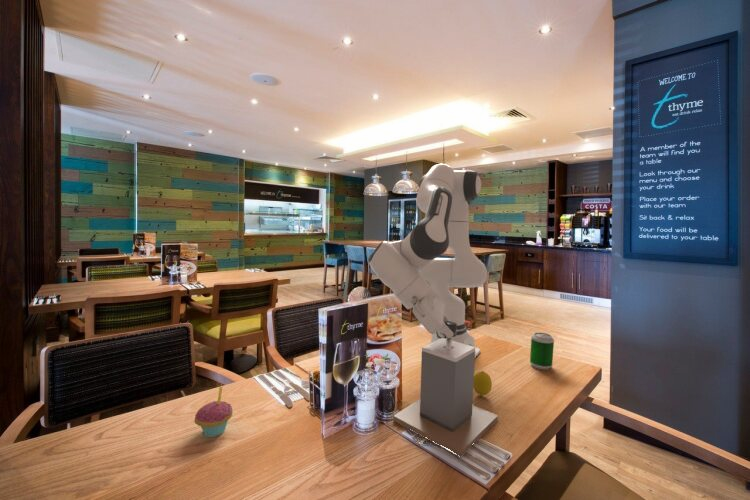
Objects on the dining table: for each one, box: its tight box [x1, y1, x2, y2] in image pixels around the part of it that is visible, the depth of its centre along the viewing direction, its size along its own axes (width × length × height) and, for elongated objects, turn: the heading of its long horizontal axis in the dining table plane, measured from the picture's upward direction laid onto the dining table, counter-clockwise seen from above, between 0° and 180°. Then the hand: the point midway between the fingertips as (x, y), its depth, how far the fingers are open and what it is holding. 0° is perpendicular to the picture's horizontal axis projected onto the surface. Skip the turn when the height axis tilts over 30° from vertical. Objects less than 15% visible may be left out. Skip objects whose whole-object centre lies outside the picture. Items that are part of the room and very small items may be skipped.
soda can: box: [529, 332, 555, 371], centre depth 126 cm, size 8×8×12 cm
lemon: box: [473, 370, 493, 397], centre depth 104 cm, size 6×6×8 cm
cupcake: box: [194, 383, 233, 438], centre depth 85 cm, size 9×8×12 cm
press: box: [392, 338, 499, 458], centre depth 91 cm, size 20×20×20 cm
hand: (451, 332), depth 89 cm, fingers closed on plunger, 4 cm apart
